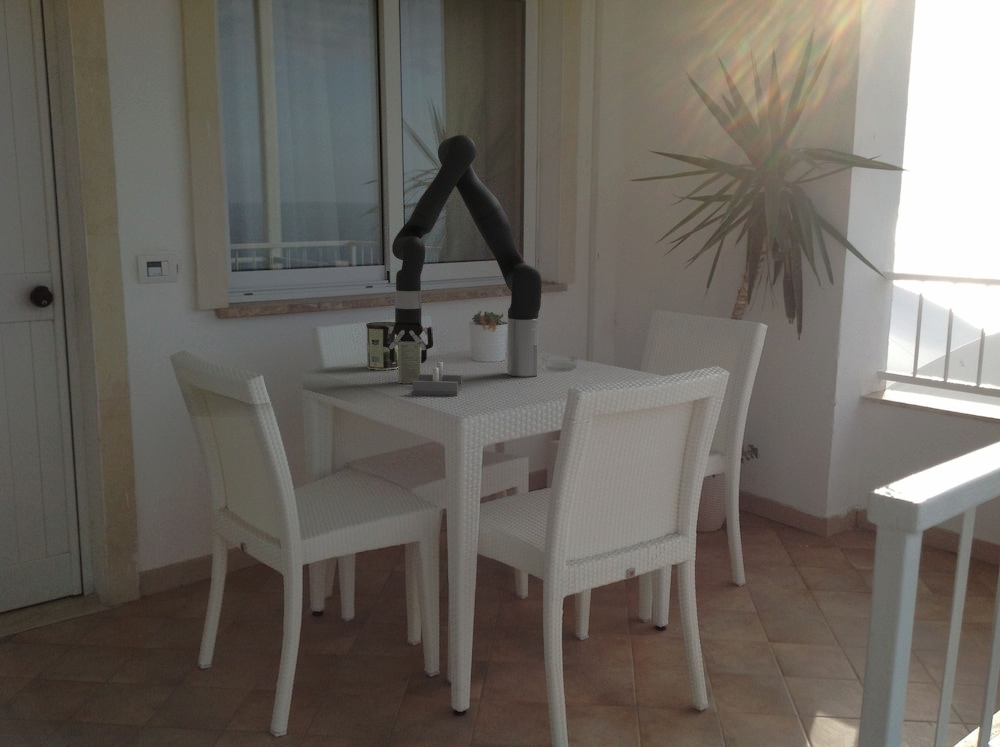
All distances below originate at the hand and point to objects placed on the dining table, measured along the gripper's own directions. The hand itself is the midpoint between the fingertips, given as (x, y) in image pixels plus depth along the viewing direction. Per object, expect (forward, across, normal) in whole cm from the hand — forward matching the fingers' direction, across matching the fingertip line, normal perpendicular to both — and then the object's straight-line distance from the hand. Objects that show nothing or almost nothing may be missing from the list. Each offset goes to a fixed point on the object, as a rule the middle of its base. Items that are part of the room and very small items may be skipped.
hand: (408, 362), depth 272 cm
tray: (+6, -10, +12) cm, 17 cm away
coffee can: (+6, +12, -23) cm, 26 cm away
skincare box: (+6, 0, 0) cm, 6 cm away
